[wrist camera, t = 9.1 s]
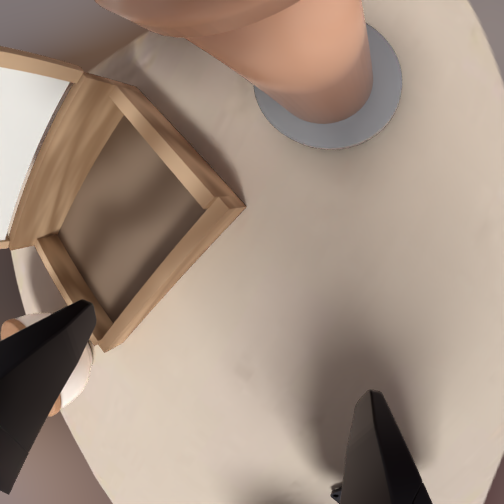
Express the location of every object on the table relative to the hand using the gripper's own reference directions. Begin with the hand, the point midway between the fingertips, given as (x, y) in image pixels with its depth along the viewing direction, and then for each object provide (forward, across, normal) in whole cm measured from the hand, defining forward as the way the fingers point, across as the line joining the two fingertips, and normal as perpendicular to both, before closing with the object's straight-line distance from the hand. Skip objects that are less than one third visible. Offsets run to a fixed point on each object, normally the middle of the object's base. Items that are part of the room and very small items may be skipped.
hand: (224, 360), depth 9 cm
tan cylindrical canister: (+14, 0, -7) cm, 16 cm away
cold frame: (+14, +12, +7) cm, 20 cm away
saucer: (+15, -1, -7) cm, 17 cm away
